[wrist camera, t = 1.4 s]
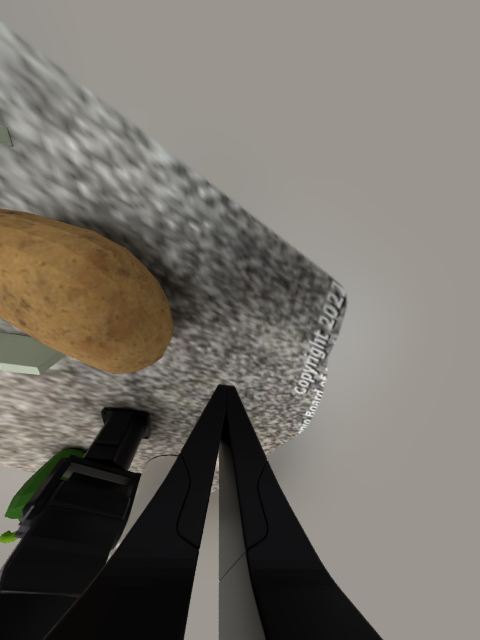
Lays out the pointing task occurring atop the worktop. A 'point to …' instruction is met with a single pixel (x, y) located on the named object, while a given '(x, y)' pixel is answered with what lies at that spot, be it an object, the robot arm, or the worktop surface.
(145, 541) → the robot arm
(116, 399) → the worktop surface
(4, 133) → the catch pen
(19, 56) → the worktop surface
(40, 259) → the potato
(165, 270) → the worktop surface
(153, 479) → the toilet tissue
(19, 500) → the bell pepper
